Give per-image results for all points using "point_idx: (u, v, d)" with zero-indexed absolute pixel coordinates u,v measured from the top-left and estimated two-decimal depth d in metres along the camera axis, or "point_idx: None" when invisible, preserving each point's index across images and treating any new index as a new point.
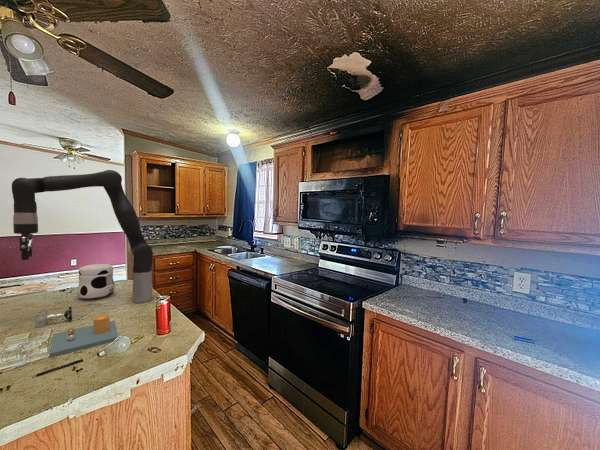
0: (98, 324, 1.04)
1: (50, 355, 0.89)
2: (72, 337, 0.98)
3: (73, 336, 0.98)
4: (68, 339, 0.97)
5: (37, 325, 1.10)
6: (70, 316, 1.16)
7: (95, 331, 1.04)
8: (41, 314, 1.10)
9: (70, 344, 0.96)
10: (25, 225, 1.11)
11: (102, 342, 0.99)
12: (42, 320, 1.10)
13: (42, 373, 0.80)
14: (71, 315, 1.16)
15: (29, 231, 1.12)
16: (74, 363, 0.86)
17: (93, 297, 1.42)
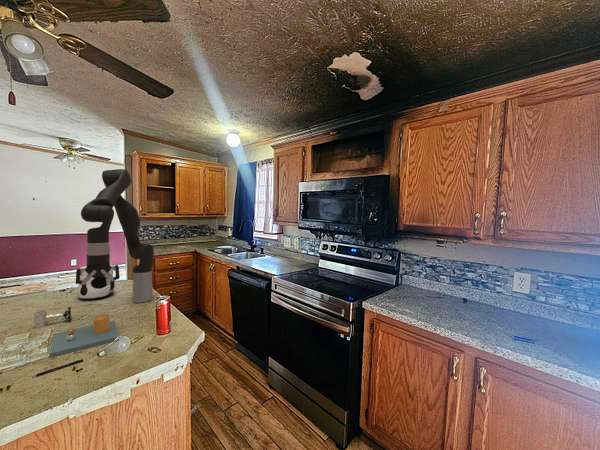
0: (98, 324, 1.04)
1: (50, 355, 0.89)
2: (72, 337, 0.98)
3: (73, 336, 0.98)
4: (68, 339, 0.97)
5: (36, 325, 1.10)
6: (69, 316, 1.15)
7: (95, 331, 1.04)
8: (40, 314, 1.10)
9: (70, 344, 0.96)
10: (109, 254, 1.07)
11: (102, 342, 0.99)
12: (41, 320, 1.10)
13: (42, 373, 0.80)
14: (70, 315, 1.15)
15: None
16: (74, 363, 0.86)
17: (93, 297, 1.42)
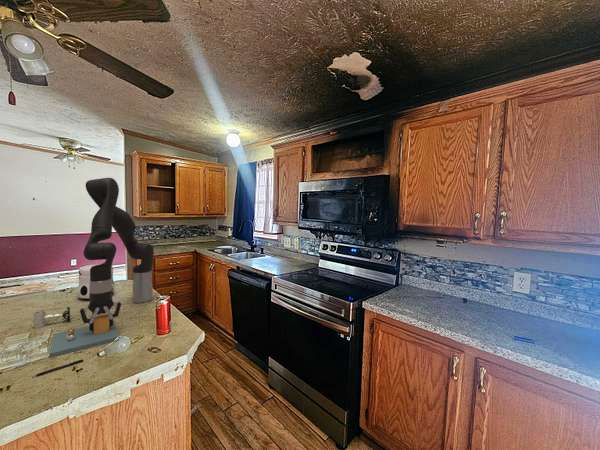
0: (98, 324, 1.04)
1: (50, 355, 0.89)
2: (72, 337, 0.98)
3: (73, 336, 0.98)
4: (68, 339, 0.97)
5: (35, 325, 1.09)
6: (68, 316, 1.15)
7: (95, 331, 1.04)
8: (39, 314, 1.10)
9: (70, 344, 0.96)
10: None
11: (102, 342, 0.99)
12: (40, 321, 1.10)
13: (42, 373, 0.80)
14: (69, 315, 1.15)
15: None
16: (74, 363, 0.86)
17: None
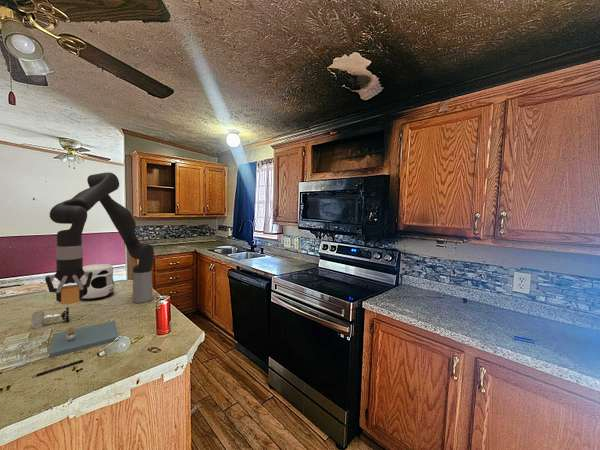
0: (66, 294, 0.95)
1: (50, 355, 0.89)
2: (72, 337, 0.98)
3: (73, 336, 0.98)
4: (68, 339, 0.97)
5: (34, 326, 1.09)
6: (67, 317, 1.15)
7: (63, 301, 0.95)
8: (38, 315, 1.09)
9: (70, 344, 0.96)
10: (82, 258, 1.00)
11: (102, 342, 0.99)
12: (39, 321, 1.10)
13: (42, 373, 0.80)
14: (68, 316, 1.15)
15: None
16: (74, 363, 0.86)
17: (93, 297, 1.42)
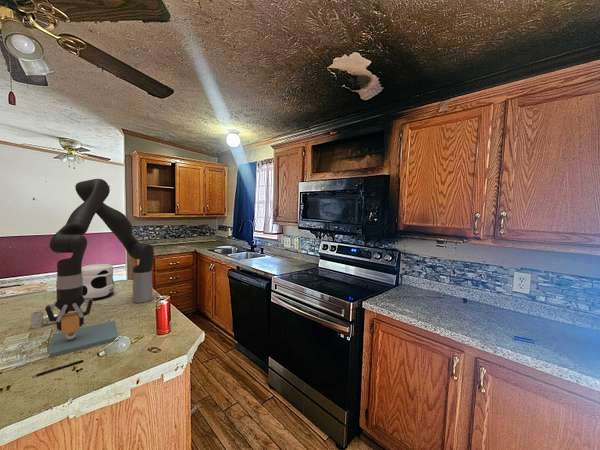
0: (66, 322, 0.96)
1: (50, 355, 0.89)
2: (72, 337, 0.98)
3: (73, 336, 0.98)
4: (68, 339, 0.97)
5: (33, 326, 1.09)
6: None
7: (63, 330, 0.96)
8: (37, 315, 1.09)
9: (70, 344, 0.96)
10: (82, 286, 1.00)
11: (102, 342, 0.99)
12: (38, 321, 1.09)
13: (42, 373, 0.80)
14: None
15: None
16: (74, 364, 0.86)
17: (93, 297, 1.42)
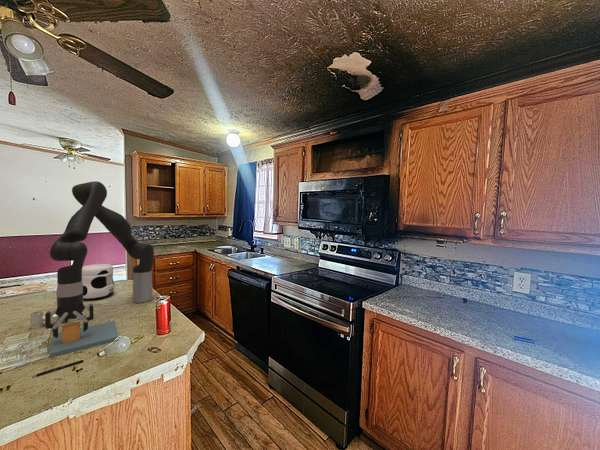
0: (67, 333, 0.96)
1: (50, 355, 0.89)
2: None
3: None
4: None
5: (32, 326, 1.09)
6: None
7: (63, 340, 0.96)
8: (36, 315, 1.09)
9: (70, 344, 0.96)
10: (82, 293, 1.00)
11: (102, 342, 0.99)
12: (38, 321, 1.09)
13: (42, 373, 0.80)
14: None
15: None
16: (74, 364, 0.86)
17: (93, 297, 1.42)
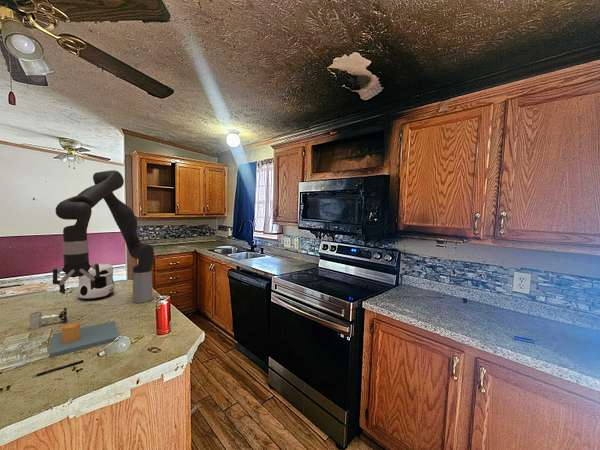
0: (67, 333, 0.96)
1: (50, 355, 0.89)
2: None
3: None
4: None
5: (31, 326, 1.09)
6: (65, 317, 1.14)
7: (63, 340, 0.96)
8: (35, 315, 1.09)
9: (70, 344, 0.96)
10: None
11: (102, 342, 0.99)
12: (36, 321, 1.09)
13: (42, 373, 0.80)
14: (66, 316, 1.14)
15: None
16: (74, 364, 0.86)
17: (93, 297, 1.42)
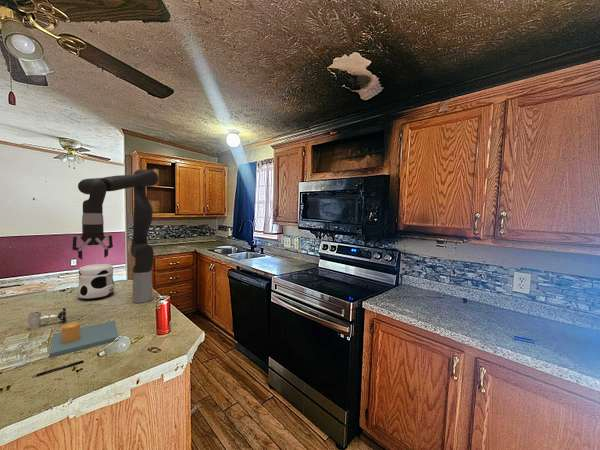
0: (67, 333, 0.96)
1: (50, 355, 0.89)
2: None
3: None
4: None
5: (30, 326, 1.08)
6: (64, 318, 1.14)
7: (63, 340, 0.96)
8: (34, 315, 1.09)
9: (70, 344, 0.96)
10: None
11: (102, 342, 0.99)
12: (35, 322, 1.09)
13: (42, 373, 0.80)
14: (65, 317, 1.14)
15: None
16: (74, 364, 0.86)
17: (93, 297, 1.42)
